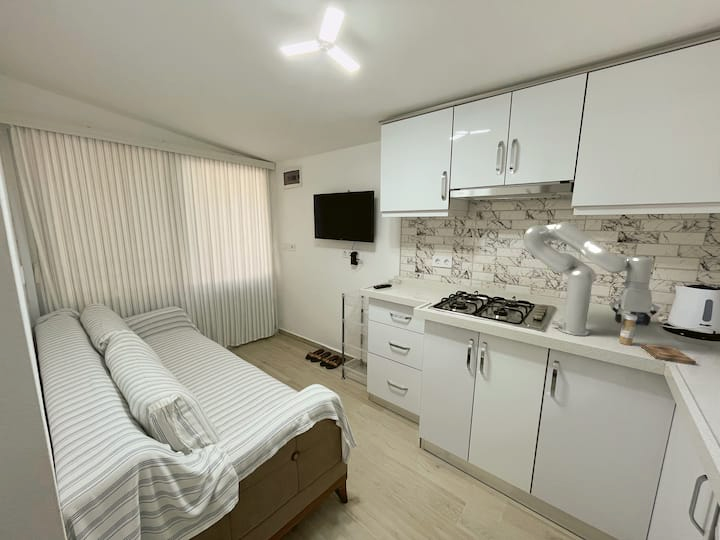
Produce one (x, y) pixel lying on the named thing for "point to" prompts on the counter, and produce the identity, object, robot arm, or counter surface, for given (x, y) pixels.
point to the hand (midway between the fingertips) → (631, 323)
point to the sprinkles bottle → (628, 329)
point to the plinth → (667, 354)
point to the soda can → (639, 317)
